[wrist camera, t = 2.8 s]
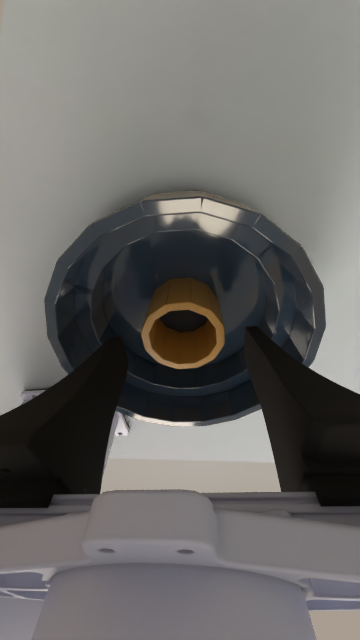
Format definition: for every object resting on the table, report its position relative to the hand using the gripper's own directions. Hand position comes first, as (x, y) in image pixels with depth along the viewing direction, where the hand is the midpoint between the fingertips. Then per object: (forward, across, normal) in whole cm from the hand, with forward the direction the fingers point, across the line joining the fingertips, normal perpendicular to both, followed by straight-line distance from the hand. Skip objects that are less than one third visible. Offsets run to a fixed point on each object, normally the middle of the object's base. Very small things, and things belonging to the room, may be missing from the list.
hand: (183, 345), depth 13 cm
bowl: (+5, 0, 0) cm, 5 cm away
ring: (+4, 0, 0) cm, 4 cm away
